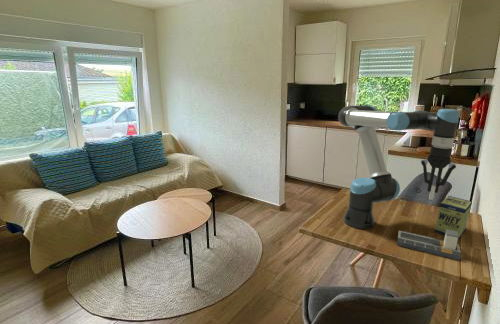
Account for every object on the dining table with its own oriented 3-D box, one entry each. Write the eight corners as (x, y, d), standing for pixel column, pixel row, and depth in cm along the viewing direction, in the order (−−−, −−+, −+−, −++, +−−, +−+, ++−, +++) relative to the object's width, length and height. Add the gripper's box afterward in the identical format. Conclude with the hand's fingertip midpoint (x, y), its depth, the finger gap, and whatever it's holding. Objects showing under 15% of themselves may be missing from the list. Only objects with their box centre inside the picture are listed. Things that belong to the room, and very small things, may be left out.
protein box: (434, 232, 147) (439, 203, 143) (442, 222, 157) (448, 195, 153) (458, 240, 140) (465, 210, 135) (466, 229, 150) (472, 200, 146)
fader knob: (444, 247, 129) (447, 233, 127) (443, 242, 132) (446, 229, 131) (455, 250, 127) (458, 236, 125) (454, 245, 131) (457, 231, 129)
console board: (396, 245, 134) (397, 239, 134) (398, 233, 144) (398, 228, 144) (460, 260, 123) (461, 254, 123) (456, 247, 134) (457, 241, 133)
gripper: (423, 146, 123) (413, 198, 130) (461, 150, 117) (449, 205, 124) (423, 143, 129) (414, 193, 136) (459, 146, 123) (447, 198, 130)
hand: (430, 198), depth 130 cm, fingers closed
